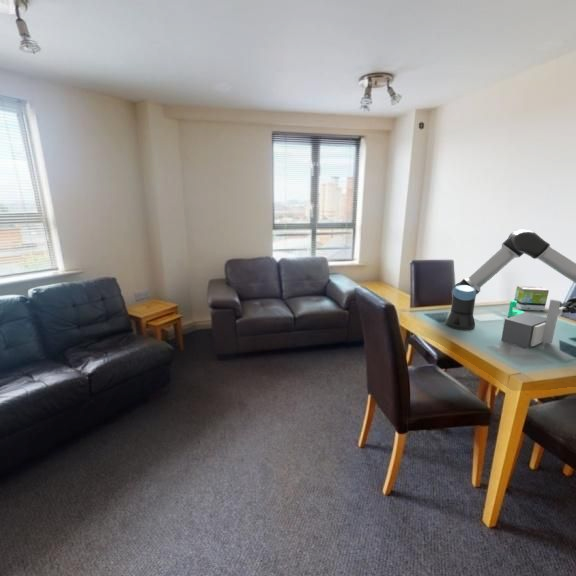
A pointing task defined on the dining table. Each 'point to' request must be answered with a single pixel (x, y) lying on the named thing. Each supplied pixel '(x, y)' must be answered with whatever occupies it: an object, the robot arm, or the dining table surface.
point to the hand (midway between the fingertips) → (557, 311)
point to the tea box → (531, 298)
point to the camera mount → (513, 312)
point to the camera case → (521, 329)
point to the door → (546, 325)
